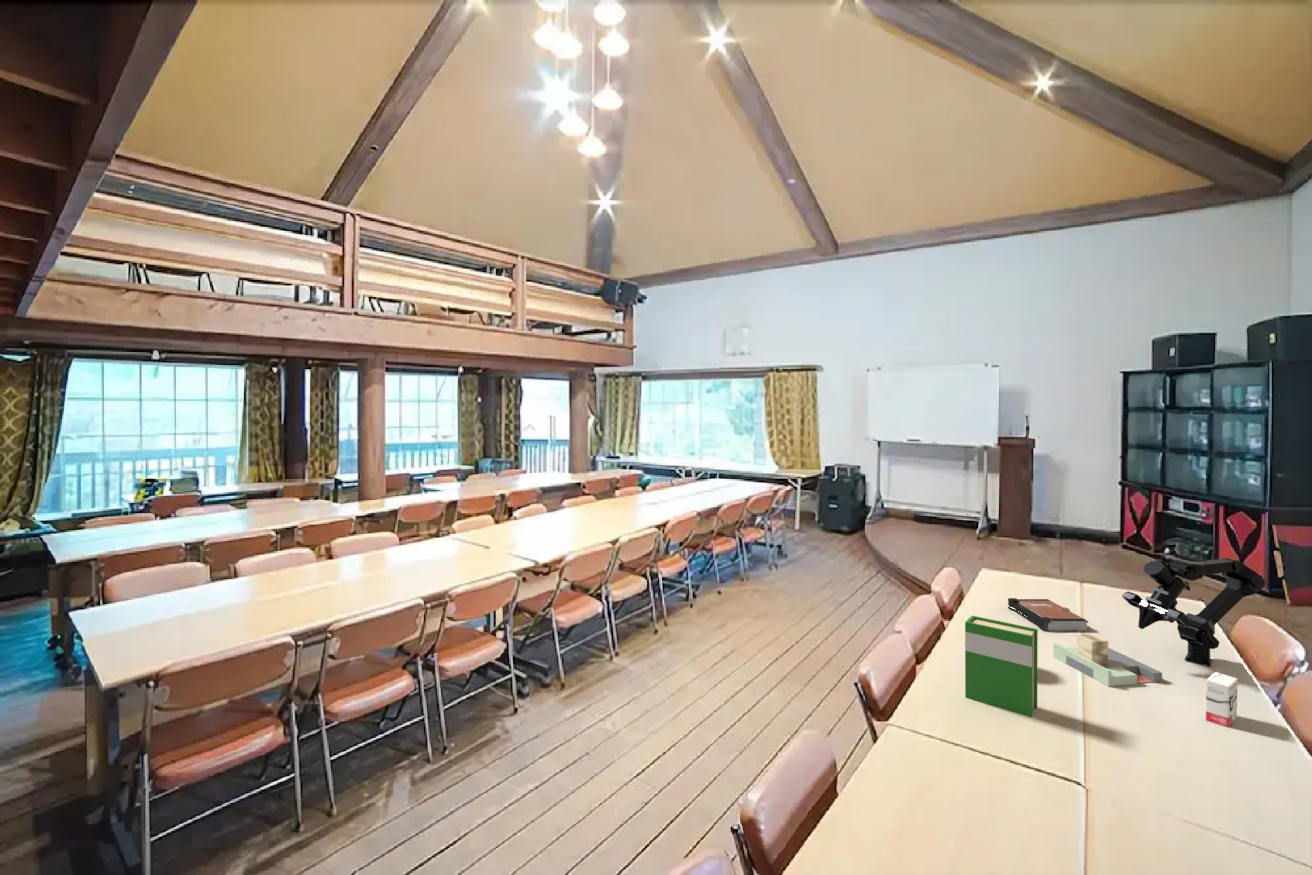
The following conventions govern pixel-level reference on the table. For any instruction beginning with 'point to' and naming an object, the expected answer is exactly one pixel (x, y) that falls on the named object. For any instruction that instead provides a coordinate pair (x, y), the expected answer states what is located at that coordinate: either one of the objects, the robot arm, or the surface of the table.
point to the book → (1047, 615)
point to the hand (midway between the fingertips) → (1140, 628)
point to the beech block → (1093, 648)
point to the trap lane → (1109, 667)
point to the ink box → (1221, 699)
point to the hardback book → (1001, 664)
